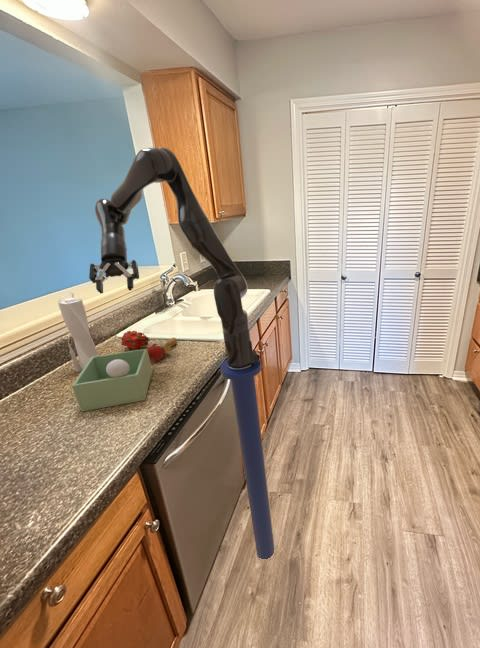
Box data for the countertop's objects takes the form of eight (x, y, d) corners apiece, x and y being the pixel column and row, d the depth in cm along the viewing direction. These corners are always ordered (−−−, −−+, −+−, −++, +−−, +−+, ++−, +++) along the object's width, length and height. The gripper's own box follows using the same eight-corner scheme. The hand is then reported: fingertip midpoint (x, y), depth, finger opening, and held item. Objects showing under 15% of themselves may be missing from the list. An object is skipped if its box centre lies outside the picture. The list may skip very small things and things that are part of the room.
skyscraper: (81, 363, 126) (57, 293, 115) (104, 359, 128) (82, 290, 117) (75, 373, 119) (48, 299, 108) (100, 368, 121) (76, 296, 110)
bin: (152, 370, 118) (147, 348, 114) (144, 400, 100) (137, 374, 97) (99, 379, 113) (91, 356, 110) (81, 411, 96) (71, 385, 92)
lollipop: (131, 377, 110) (130, 356, 98) (129, 393, 107) (127, 373, 95) (110, 376, 107) (106, 355, 96) (107, 393, 104) (103, 373, 93)
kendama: (164, 346, 140) (140, 361, 123) (165, 333, 138) (140, 345, 121) (181, 350, 139) (159, 364, 122) (182, 336, 137) (160, 349, 120)
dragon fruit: (124, 350, 139) (151, 354, 138) (112, 347, 131) (141, 351, 130) (129, 331, 141) (156, 335, 140) (118, 326, 132) (146, 330, 132)
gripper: (85, 244, 105) (85, 287, 99) (133, 240, 108) (135, 282, 103) (95, 258, 112) (95, 299, 106) (139, 254, 115) (142, 293, 109)
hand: (115, 290), depth 104 cm, fingers open, 8 cm apart
